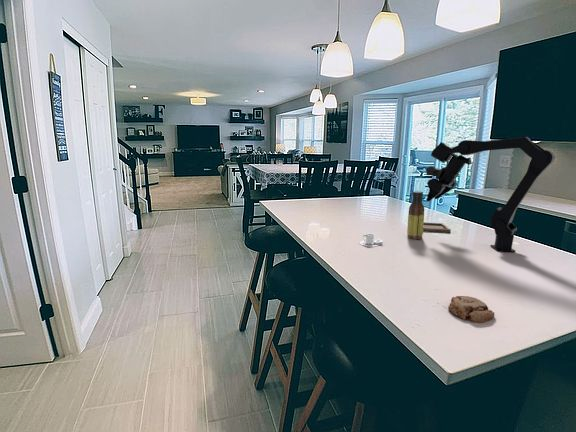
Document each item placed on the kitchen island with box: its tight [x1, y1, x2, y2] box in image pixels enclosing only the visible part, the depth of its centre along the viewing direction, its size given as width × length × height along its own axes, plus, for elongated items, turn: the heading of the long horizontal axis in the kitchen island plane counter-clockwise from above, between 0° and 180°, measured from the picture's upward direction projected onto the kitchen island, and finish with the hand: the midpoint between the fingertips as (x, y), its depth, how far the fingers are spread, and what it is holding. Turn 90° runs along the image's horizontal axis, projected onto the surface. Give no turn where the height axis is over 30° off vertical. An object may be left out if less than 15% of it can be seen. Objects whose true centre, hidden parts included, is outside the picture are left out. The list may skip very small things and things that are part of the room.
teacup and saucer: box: [358, 233, 384, 248], centre depth 134 cm, size 9×8×4 cm
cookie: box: [447, 295, 495, 323], centre depth 82 cm, size 10×11×3 cm
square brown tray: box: [423, 221, 451, 234], centre depth 160 cm, size 12×12×2 cm
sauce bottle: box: [406, 190, 425, 240], centre depth 142 cm, size 6×6×20 cm
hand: (431, 199), depth 147 cm, fingers open, 9 cm apart
